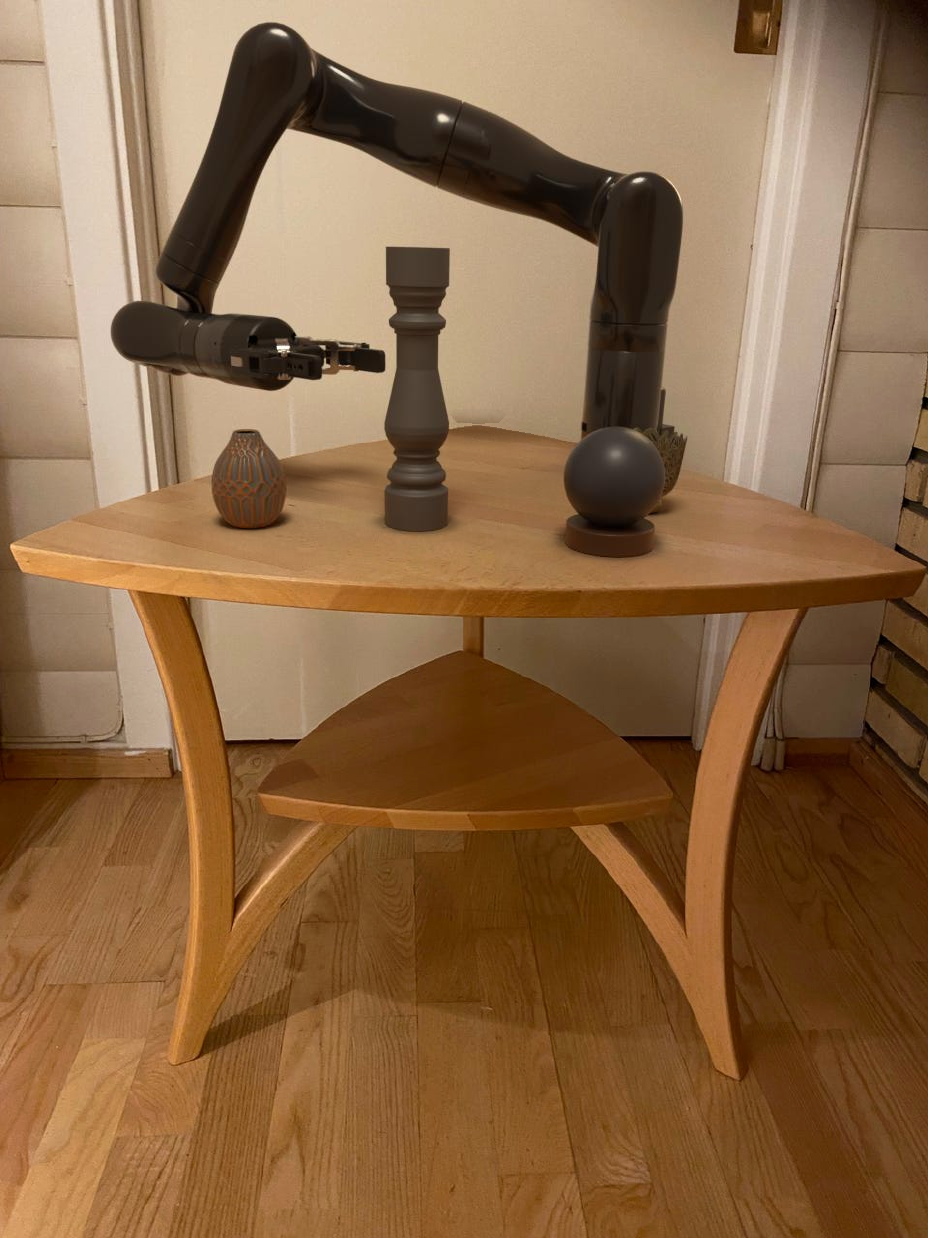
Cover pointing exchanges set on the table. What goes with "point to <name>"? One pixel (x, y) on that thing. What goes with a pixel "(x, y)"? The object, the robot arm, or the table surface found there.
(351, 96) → the robot arm
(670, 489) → the spiky textured bowl
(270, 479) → the vase
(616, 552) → the ball on stand
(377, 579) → the table surface
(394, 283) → the candle holder
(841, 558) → the table surface
